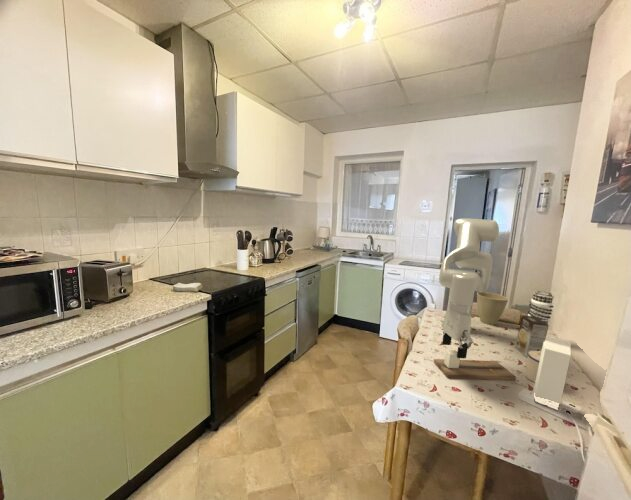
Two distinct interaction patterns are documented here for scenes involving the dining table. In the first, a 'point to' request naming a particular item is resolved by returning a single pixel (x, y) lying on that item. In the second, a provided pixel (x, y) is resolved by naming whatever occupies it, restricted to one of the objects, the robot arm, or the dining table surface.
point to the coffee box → (531, 334)
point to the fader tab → (451, 359)
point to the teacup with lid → (532, 365)
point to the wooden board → (475, 370)
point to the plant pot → (490, 307)
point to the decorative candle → (541, 305)
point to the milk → (552, 369)
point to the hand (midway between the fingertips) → (453, 350)
